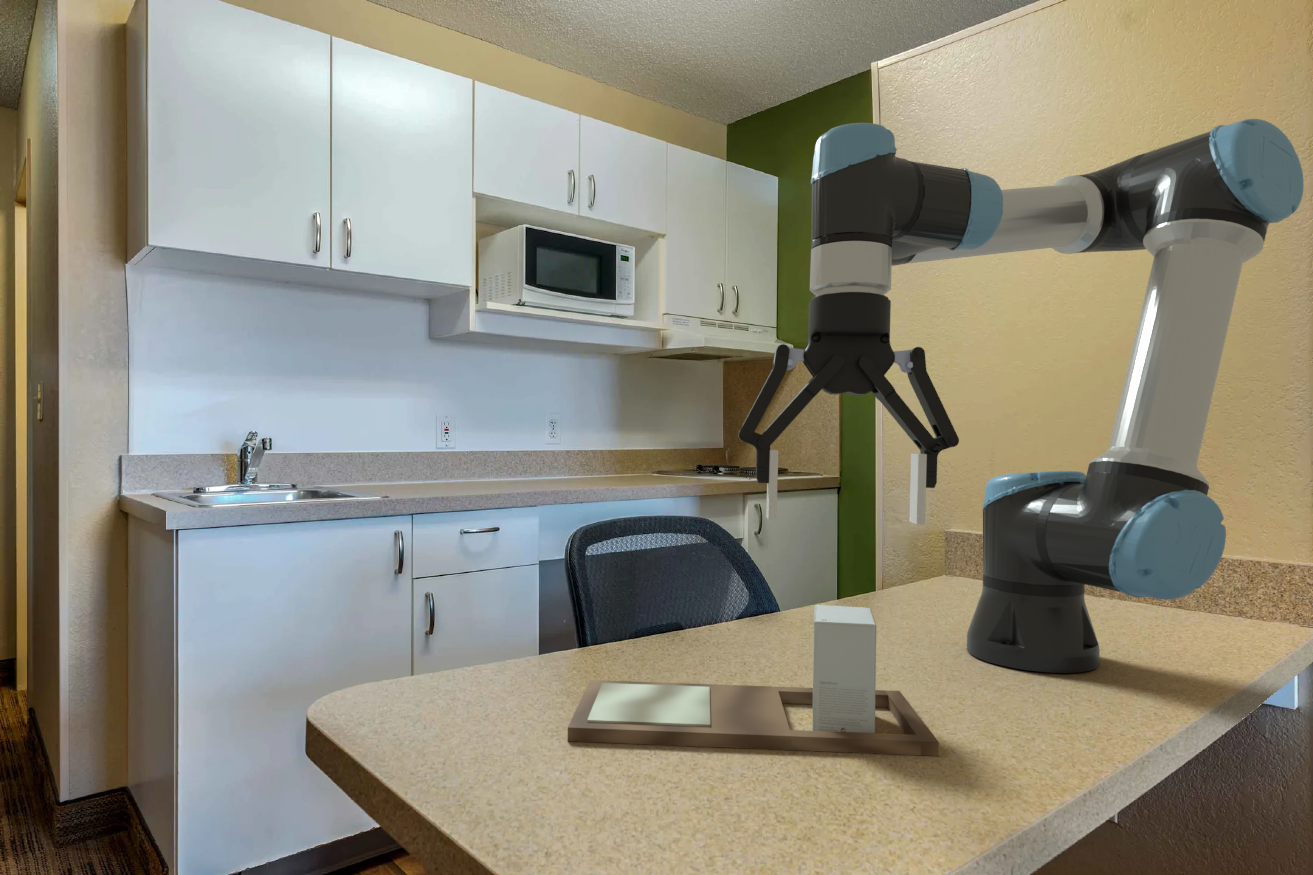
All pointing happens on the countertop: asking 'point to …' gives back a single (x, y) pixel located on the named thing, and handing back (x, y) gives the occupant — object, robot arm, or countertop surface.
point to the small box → (844, 669)
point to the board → (730, 719)
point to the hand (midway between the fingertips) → (843, 521)
